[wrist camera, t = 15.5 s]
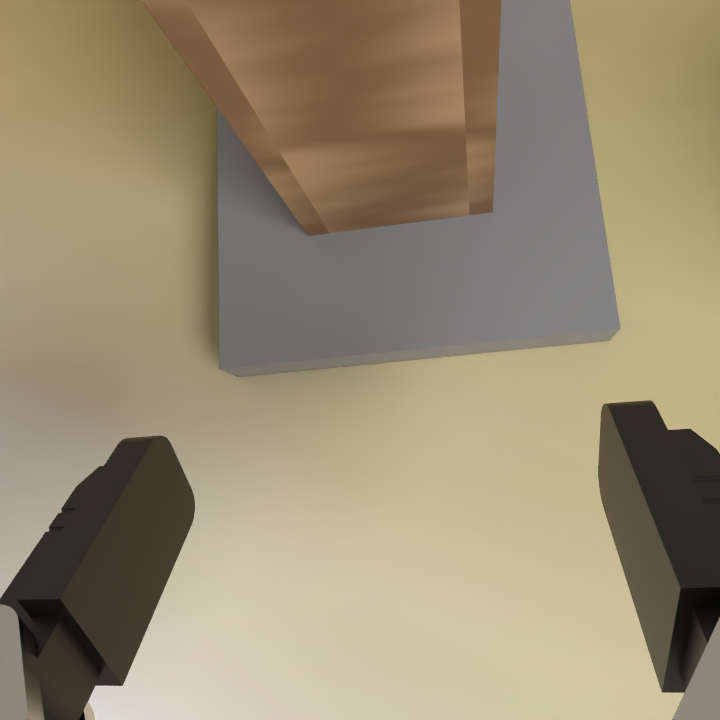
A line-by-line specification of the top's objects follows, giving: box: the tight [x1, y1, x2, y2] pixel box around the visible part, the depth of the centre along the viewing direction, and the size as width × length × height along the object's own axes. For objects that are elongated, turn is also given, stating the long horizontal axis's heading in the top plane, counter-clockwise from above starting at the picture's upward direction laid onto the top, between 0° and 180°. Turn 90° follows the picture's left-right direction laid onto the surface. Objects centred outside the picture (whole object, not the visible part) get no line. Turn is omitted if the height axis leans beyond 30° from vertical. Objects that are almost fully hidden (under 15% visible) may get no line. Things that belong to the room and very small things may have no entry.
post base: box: [217, 0, 620, 377], centre depth 16 cm, size 12×14×9 cm
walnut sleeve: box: [141, 0, 501, 236], centre depth 14 cm, size 6×6×10 cm
